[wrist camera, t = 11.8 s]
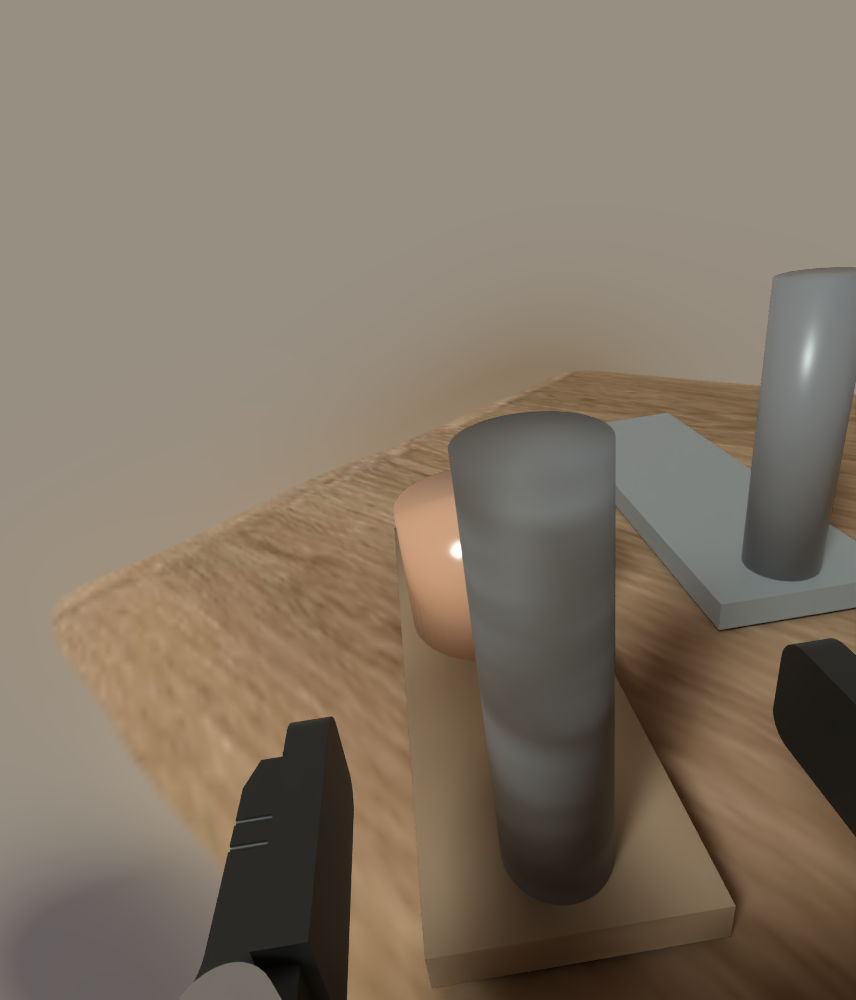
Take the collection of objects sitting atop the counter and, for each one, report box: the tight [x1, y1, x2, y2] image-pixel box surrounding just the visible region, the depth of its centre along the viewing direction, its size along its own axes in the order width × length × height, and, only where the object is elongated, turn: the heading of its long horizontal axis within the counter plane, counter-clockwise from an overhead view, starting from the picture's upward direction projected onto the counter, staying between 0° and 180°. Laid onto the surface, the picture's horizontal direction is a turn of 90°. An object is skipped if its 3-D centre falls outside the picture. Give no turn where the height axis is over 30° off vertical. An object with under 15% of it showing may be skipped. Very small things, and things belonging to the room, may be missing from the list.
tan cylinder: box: [394, 470, 476, 661], centre depth 23 cm, size 6×6×5 cm
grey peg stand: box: [607, 267, 856, 630], centre depth 29 cm, size 7×20×12 cm, turn 5°
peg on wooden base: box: [394, 411, 736, 988], centre depth 20 cm, size 7×20×12 cm, turn 5°
